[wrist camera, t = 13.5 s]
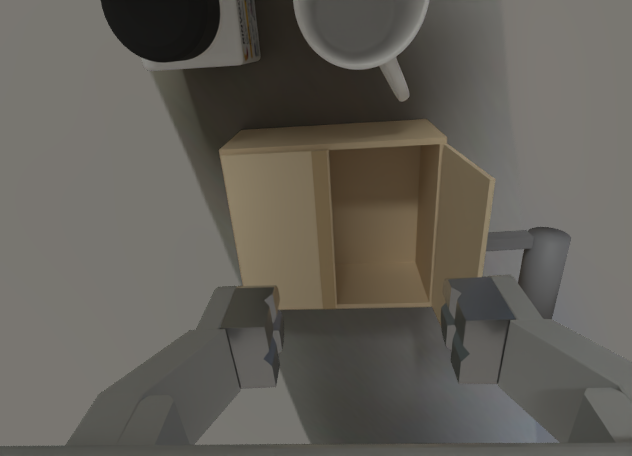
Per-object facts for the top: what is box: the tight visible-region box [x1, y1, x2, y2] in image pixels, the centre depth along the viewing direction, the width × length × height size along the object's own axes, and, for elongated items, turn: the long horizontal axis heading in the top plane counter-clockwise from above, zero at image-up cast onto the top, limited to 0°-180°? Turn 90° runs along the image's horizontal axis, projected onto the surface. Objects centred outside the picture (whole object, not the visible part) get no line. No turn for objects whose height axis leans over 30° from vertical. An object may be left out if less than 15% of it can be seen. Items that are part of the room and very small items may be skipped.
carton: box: [219, 119, 447, 310], centre depth 37 cm, size 16×18×8 cm
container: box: [101, 0, 261, 71], centre depth 28 cm, size 8×8×13 cm
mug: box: [293, 0, 429, 102], centre depth 29 cm, size 12×8×12 cm
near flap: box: [432, 144, 571, 326], centre depth 29 cm, size 15×9×6 cm
